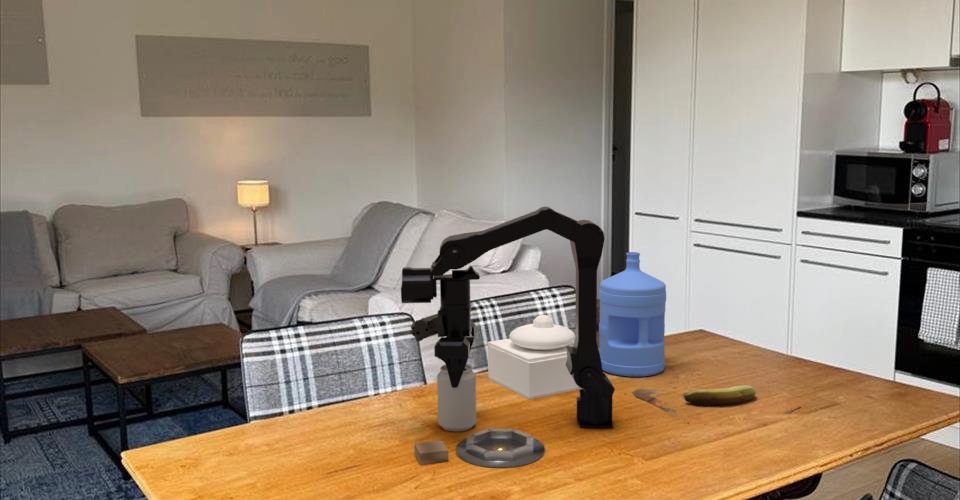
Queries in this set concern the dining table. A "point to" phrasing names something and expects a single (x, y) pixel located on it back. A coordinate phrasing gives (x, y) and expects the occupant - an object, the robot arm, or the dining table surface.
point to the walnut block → (431, 452)
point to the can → (456, 400)
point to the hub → (500, 448)
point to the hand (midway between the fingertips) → (456, 381)
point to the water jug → (632, 322)
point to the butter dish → (533, 359)
